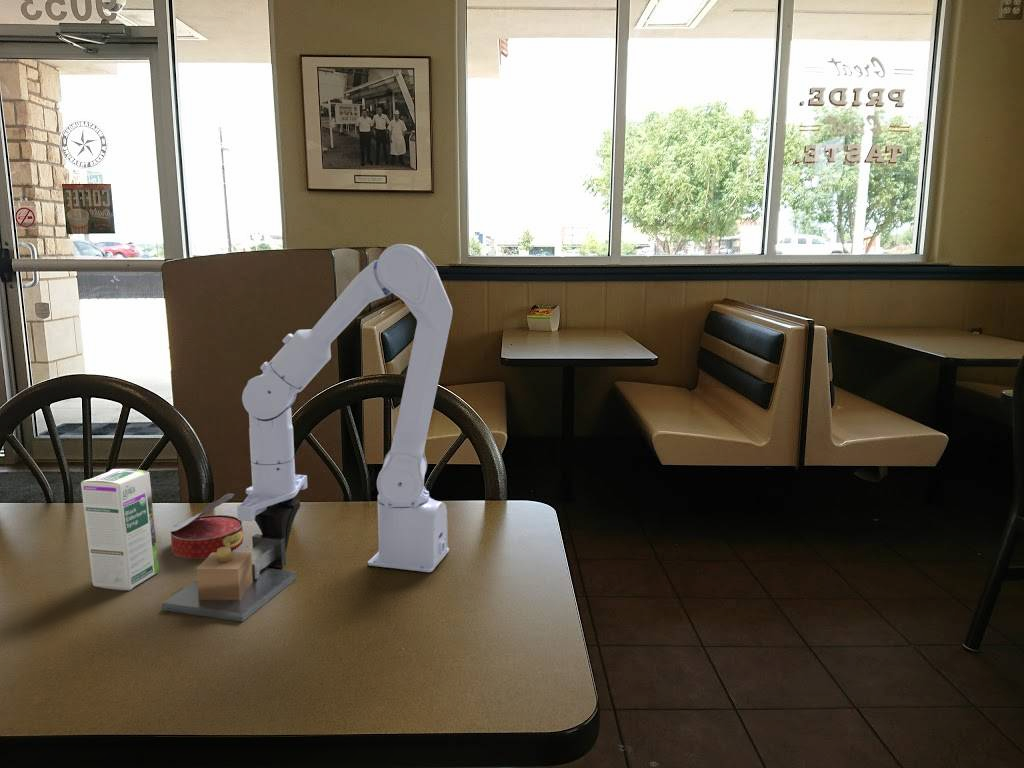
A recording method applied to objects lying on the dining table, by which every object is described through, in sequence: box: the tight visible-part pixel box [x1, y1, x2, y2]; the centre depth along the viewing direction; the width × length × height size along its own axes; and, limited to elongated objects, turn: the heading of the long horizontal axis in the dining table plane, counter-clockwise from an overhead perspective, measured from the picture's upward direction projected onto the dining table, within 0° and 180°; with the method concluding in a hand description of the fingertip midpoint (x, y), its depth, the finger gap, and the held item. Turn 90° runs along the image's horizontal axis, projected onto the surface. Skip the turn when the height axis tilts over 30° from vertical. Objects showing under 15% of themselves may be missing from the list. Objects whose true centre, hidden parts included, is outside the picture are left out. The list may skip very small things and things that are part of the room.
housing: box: [195, 547, 253, 600], centre depth 92 cm, size 5×5×6 cm
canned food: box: [169, 493, 244, 559], centre depth 108 cm, size 11×10×10 cm
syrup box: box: [80, 468, 160, 591], centre depth 96 cm, size 6×6×14 cm
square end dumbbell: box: [247, 533, 287, 579], centre depth 98 cm, size 4×7×4 cm, turn 166°
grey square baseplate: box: [161, 567, 297, 623], centre depth 93 cm, size 11×12×1 cm
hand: (277, 552), depth 103 cm, fingers closed
